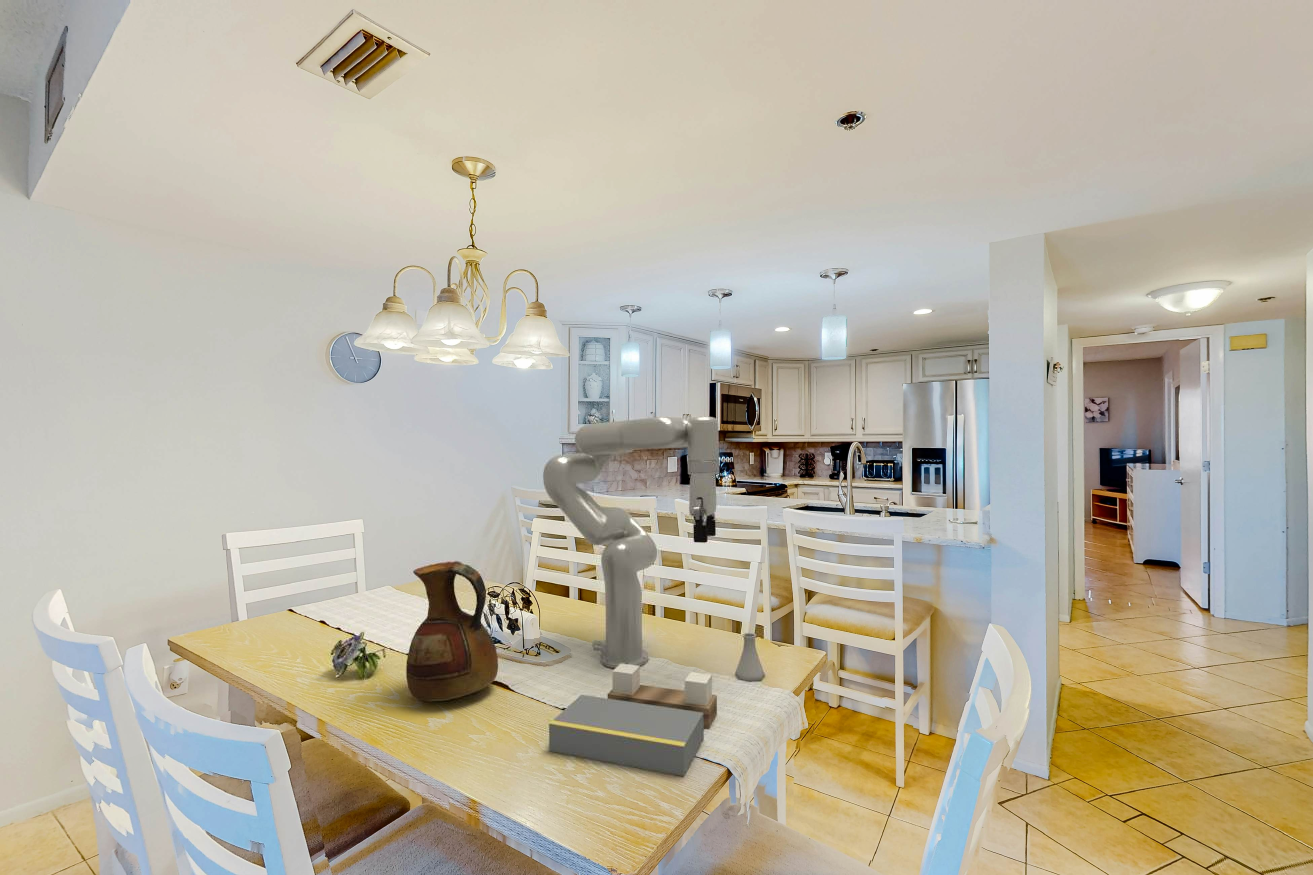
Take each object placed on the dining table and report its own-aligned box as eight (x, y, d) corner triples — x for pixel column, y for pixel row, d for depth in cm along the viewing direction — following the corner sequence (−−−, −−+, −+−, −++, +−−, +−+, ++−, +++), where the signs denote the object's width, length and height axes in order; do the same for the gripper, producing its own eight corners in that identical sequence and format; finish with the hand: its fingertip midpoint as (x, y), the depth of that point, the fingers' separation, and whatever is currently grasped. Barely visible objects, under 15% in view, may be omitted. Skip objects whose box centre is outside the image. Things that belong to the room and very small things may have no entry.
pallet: (607, 712, 121) (607, 693, 121) (619, 699, 127) (619, 681, 127) (709, 728, 114) (708, 708, 114) (716, 714, 120) (716, 694, 120)
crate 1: (612, 692, 122) (612, 671, 122) (620, 683, 126) (620, 663, 126) (632, 695, 121) (632, 673, 121) (640, 686, 125) (639, 665, 125)
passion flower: (339, 698, 142) (319, 655, 145) (382, 676, 151) (362, 636, 153) (351, 683, 136) (330, 639, 138) (395, 661, 144) (374, 619, 147)
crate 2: (685, 702, 117) (684, 680, 117) (691, 693, 121) (690, 672, 121) (706, 705, 115) (706, 683, 115) (712, 696, 119) (711, 674, 119)
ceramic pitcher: (428, 675, 142) (427, 554, 143) (509, 675, 142) (507, 553, 142) (389, 712, 123) (388, 571, 123) (482, 712, 122) (481, 571, 123)
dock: (549, 750, 106) (549, 723, 106) (581, 718, 119) (581, 694, 119) (684, 776, 98) (683, 746, 98) (703, 738, 110) (703, 712, 110)
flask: (765, 683, 135) (764, 640, 135) (733, 680, 137) (733, 638, 137) (765, 671, 142) (764, 630, 143) (735, 669, 144) (735, 629, 144)
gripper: (696, 466, 149) (697, 533, 148) (679, 469, 132) (681, 544, 132) (725, 466, 146) (726, 533, 146) (711, 469, 130) (713, 545, 130)
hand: (705, 538), depth 139 cm, fingers open, 9 cm apart
